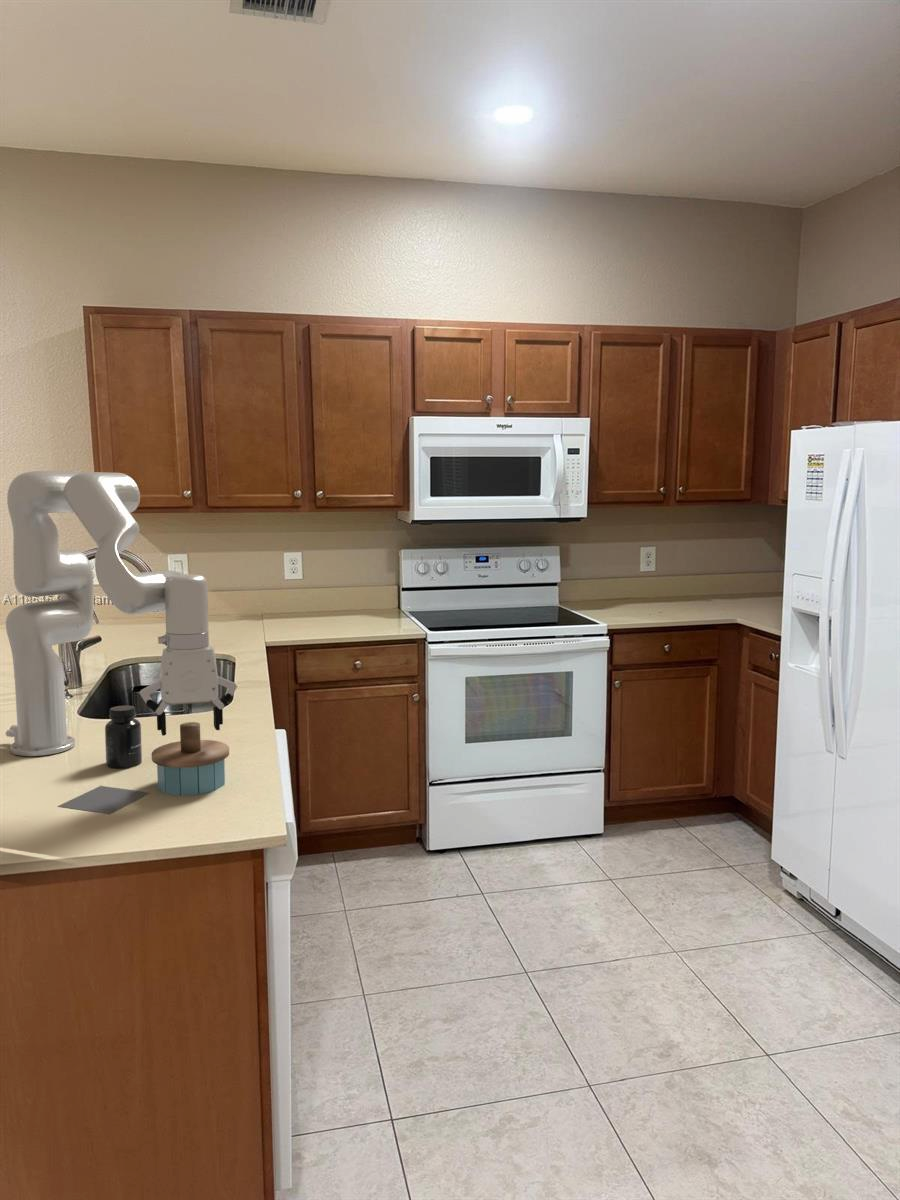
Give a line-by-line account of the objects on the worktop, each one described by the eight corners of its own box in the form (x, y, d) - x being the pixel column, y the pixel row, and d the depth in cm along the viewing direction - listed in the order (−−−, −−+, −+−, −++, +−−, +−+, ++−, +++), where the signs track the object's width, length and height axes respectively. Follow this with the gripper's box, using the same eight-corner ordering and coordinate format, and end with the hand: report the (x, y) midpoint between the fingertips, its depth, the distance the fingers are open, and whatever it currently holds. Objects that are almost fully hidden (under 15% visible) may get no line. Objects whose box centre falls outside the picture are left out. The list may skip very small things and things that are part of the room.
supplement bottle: (141, 769, 172) (139, 711, 170) (104, 772, 170) (102, 713, 168) (143, 759, 178) (141, 702, 177) (108, 761, 176) (105, 704, 175)
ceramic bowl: (145, 793, 159) (143, 761, 158) (183, 773, 170) (182, 743, 169) (201, 800, 155) (200, 768, 154) (237, 779, 166) (236, 749, 166)
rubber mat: (57, 809, 150) (57, 806, 150) (100, 788, 161) (100, 785, 161) (109, 816, 147) (109, 813, 147) (150, 795, 158) (150, 792, 158)
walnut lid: (135, 763, 157) (134, 731, 156) (181, 741, 170) (180, 712, 170) (201, 771, 153) (200, 738, 152) (243, 748, 166) (242, 718, 165)
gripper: (139, 647, 152) (142, 741, 154) (238, 641, 159) (240, 731, 161) (137, 640, 159) (140, 730, 161) (232, 635, 165) (234, 721, 168)
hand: (190, 730), depth 161 cm, fingers open, 9 cm apart
